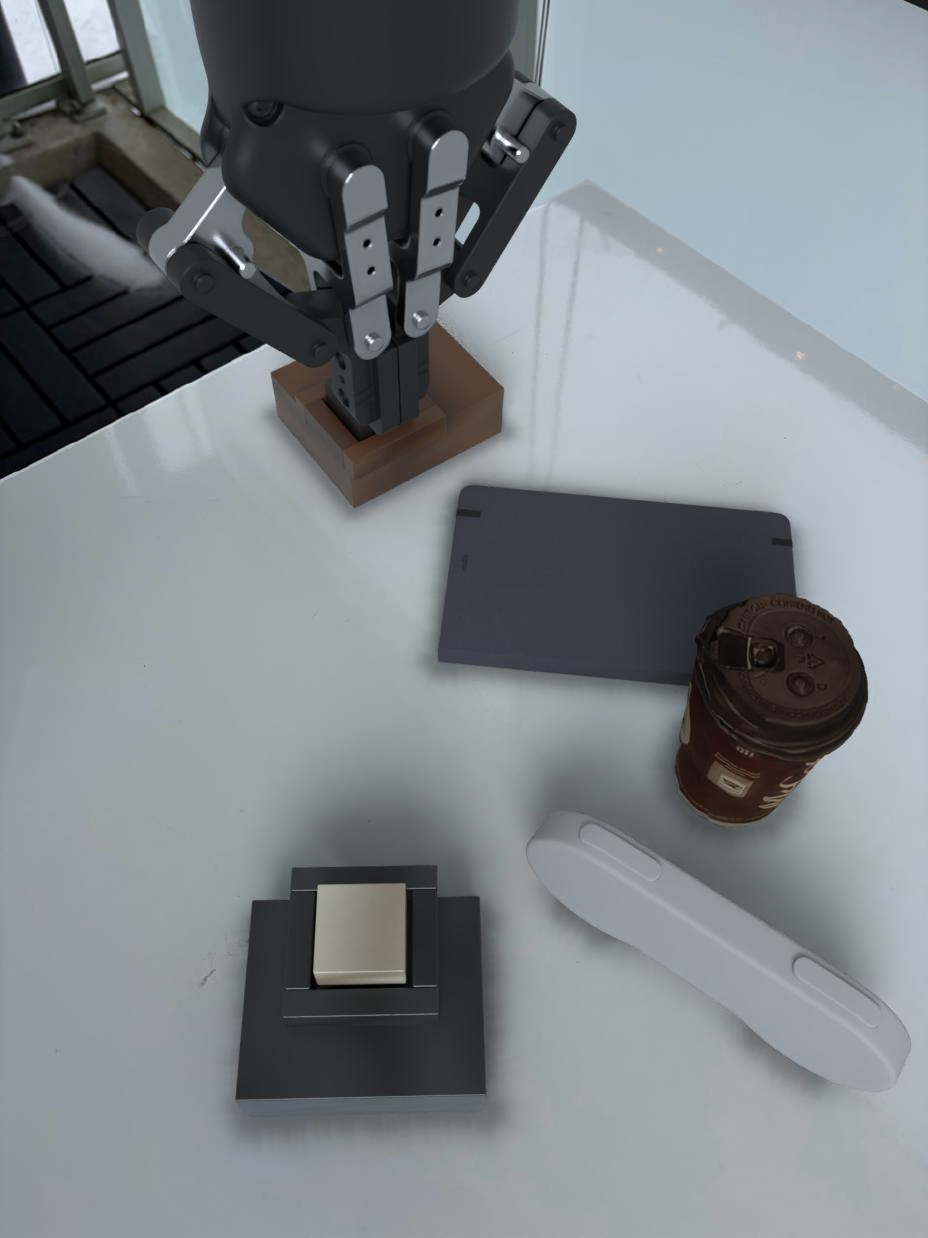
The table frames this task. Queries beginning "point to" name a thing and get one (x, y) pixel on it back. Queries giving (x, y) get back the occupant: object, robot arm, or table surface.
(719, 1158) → the table surface
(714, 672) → the coffee cup
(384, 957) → the ivory key
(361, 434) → the ebony key
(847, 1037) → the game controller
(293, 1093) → the key block
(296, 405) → the key block
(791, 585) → the notebook
